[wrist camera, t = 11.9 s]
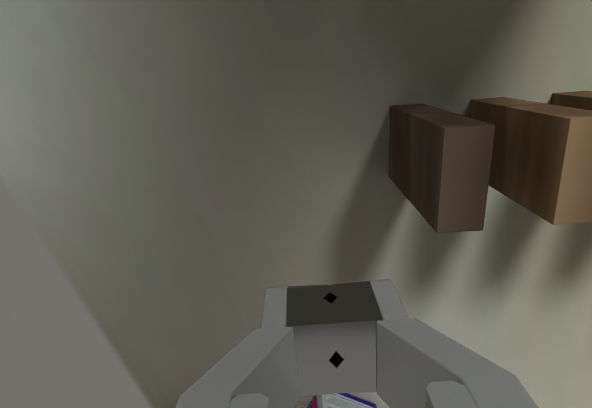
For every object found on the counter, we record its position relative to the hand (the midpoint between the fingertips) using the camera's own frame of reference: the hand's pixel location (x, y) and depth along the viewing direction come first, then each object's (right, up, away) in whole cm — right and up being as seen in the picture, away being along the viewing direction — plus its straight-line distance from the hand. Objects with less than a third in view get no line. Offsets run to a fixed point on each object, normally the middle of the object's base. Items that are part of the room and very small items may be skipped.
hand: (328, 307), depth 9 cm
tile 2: (+12, +7, +18) cm, 23 cm away
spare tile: (+7, +7, +18) cm, 20 cm away
